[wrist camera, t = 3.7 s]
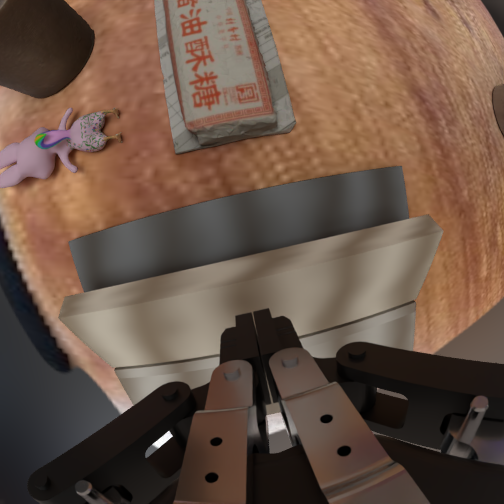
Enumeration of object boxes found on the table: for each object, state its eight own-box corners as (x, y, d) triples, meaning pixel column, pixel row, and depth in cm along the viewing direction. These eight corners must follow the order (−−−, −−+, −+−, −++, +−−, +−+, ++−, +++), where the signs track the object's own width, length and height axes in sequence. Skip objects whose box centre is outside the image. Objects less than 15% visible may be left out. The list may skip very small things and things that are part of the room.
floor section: (393, 166, 22) (414, 164, 19) (403, 349, 27) (418, 365, 23) (76, 238, 22) (56, 246, 19) (147, 407, 26) (140, 428, 23)
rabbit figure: (121, 100, 21) (1, 149, 18) (106, 75, 15) (-30, 142, 12) (129, 161, 22) (6, 205, 20) (112, 150, 17) (-27, 208, 14)
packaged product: (309, 120, 17) (164, 148, 17) (294, 133, 22) (178, 156, 22) (256, -43, 13) (144, -23, 13) (252, -15, 18) (156, 3, 18)
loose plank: (428, 214, 18) (443, 230, 16) (404, 288, 24) (413, 304, 22) (64, 297, 17) (58, 318, 16) (118, 352, 23) (117, 371, 22)
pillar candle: (111, 24, 17) (43, -58, 3) (64, 106, 19) (-46, 63, 4) (53, 23, 16) (-15, -30, 1) (13, 95, 18) (-76, 68, 3)
